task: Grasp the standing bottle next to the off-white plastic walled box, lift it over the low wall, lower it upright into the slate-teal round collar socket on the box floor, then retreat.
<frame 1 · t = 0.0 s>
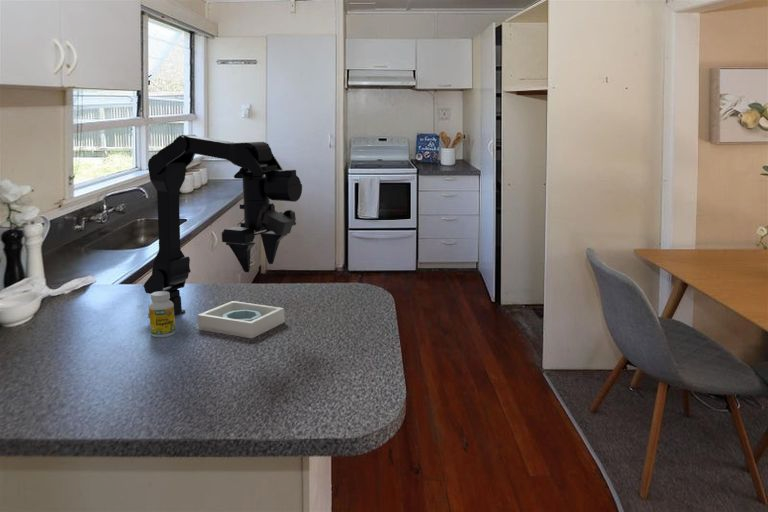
hand: (259, 267, 149), 15 cm above the kitchen counter, fingers open, 9 cm apart
socket box: (242, 325, 154), on the kitchen counter
supplement bottle: (163, 334, 148), on the kitchen counter
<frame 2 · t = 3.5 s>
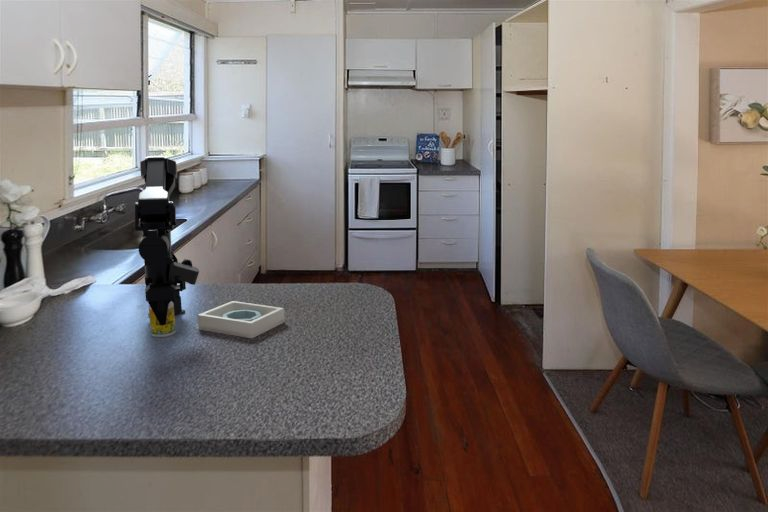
hand: (162, 321, 148), 3 cm above the kitchen counter, fingers closed on supplement bottle, 5 cm apart
supplement bottle: (163, 334, 148), on the kitchen counter, touching gripper
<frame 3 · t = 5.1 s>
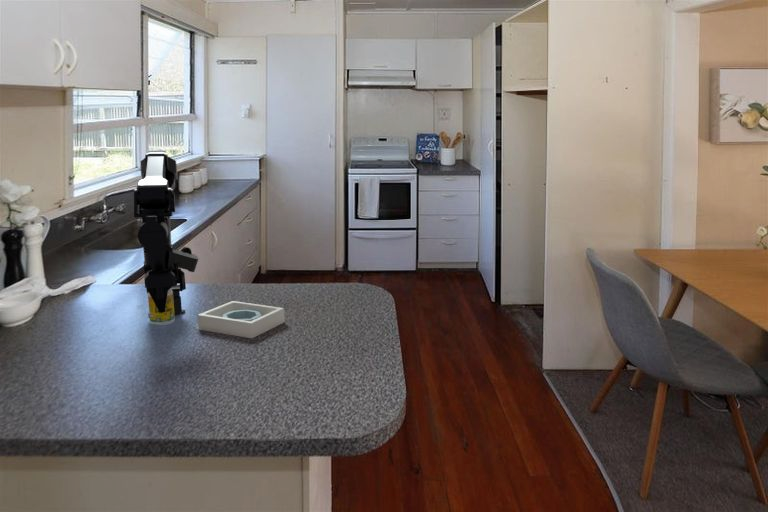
hand: (161, 308, 147), 6 cm above the kitchen counter, fingers closed on supplement bottle, 5 cm apart
supplement bottle: (162, 322, 148), point 3 cm above the kitchen counter, touching gripper
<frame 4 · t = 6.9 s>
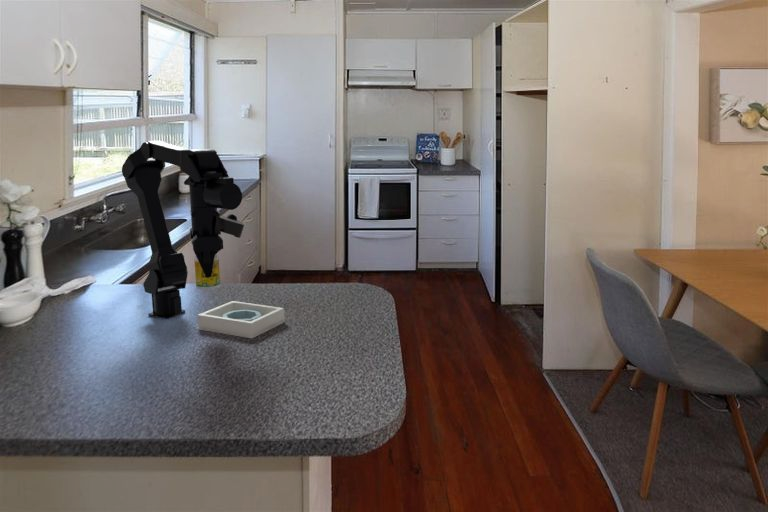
hand: (207, 274, 149), 13 cm above the kitchen counter, fingers closed on supplement bottle, 5 cm apart
supplement bottle: (208, 288, 150), point 10 cm above the kitchen counter, touching gripper
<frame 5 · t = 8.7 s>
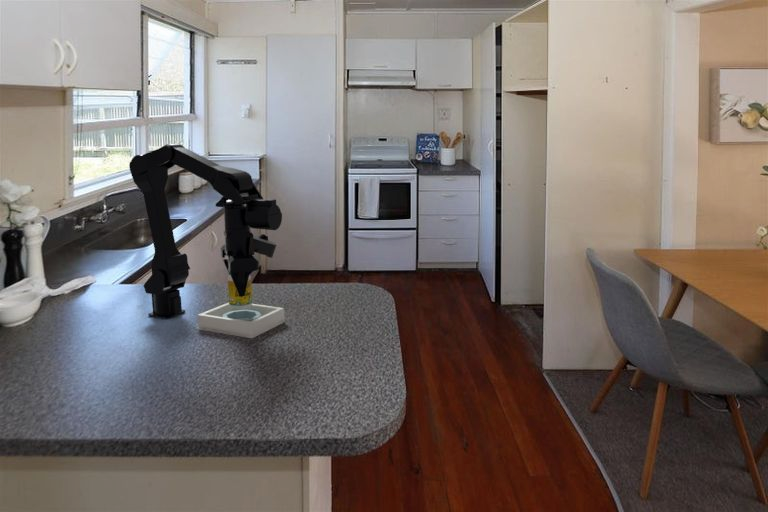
hand: (240, 293, 153), 8 cm above the kitchen counter, fingers closed on supplement bottle, 5 cm apart
supplement bottle: (240, 306, 153), point 5 cm above the kitchen counter, touching gripper
when the fingers open (5 cm above the kitchen counter, at t = 10.3 s): supplement bottle stays where it is, resting on socket box.
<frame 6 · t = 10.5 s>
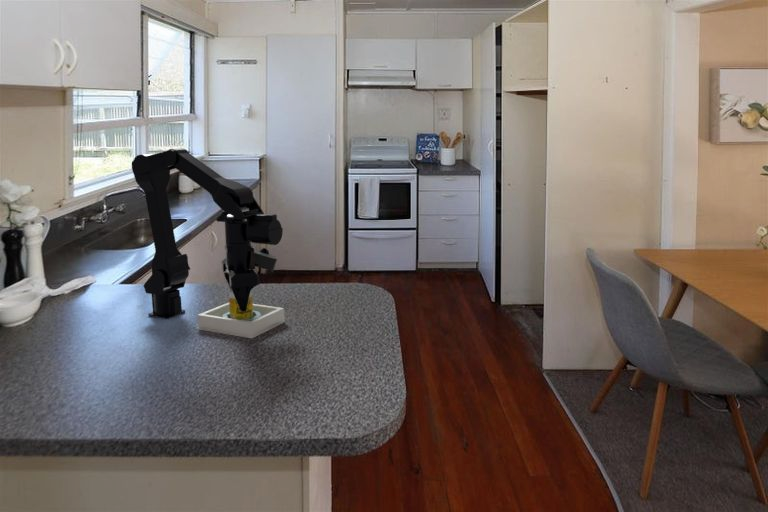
hand: (241, 306, 153), 5 cm above the kitchen counter, fingers open, 7 cm apart
supplement bottle: (241, 323, 154), point 1 cm above the kitchen counter, touching socket box
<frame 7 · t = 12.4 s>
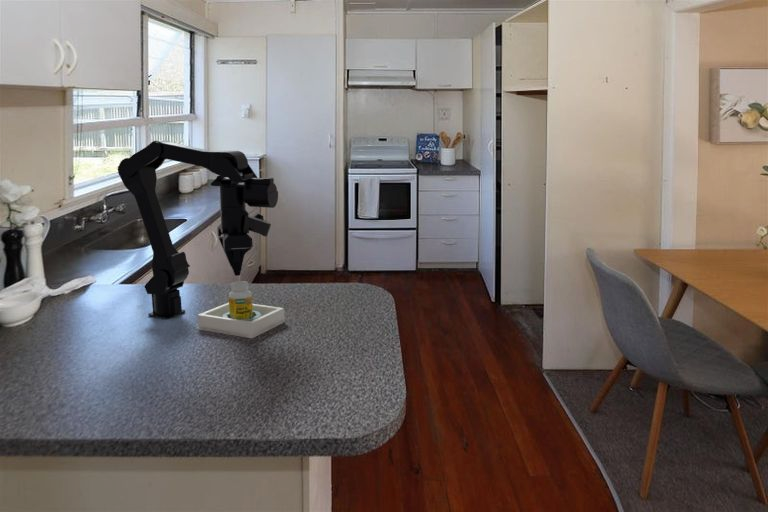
hand: (235, 270, 156), 12 cm above the kitchen counter, fingers open, 9 cm apart
nothing on the kitchen counter moved.
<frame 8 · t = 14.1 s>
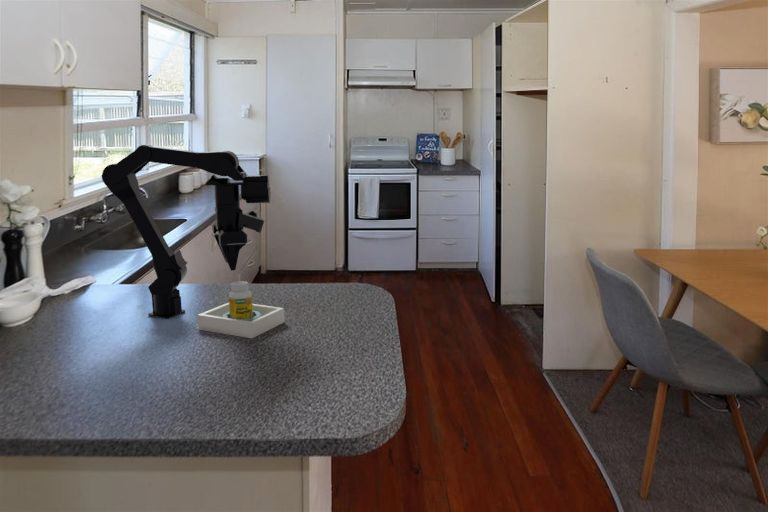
hand: (230, 266, 162), 12 cm above the kitchen counter, fingers open, 9 cm apart
nothing on the kitchen counter moved.
at the end: supplement bottle 0.1 cm off-centre on the socket box, point 0.6 cm above the socket box's base; supplement bottle tilted 0°; the gripper is holding nothing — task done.
